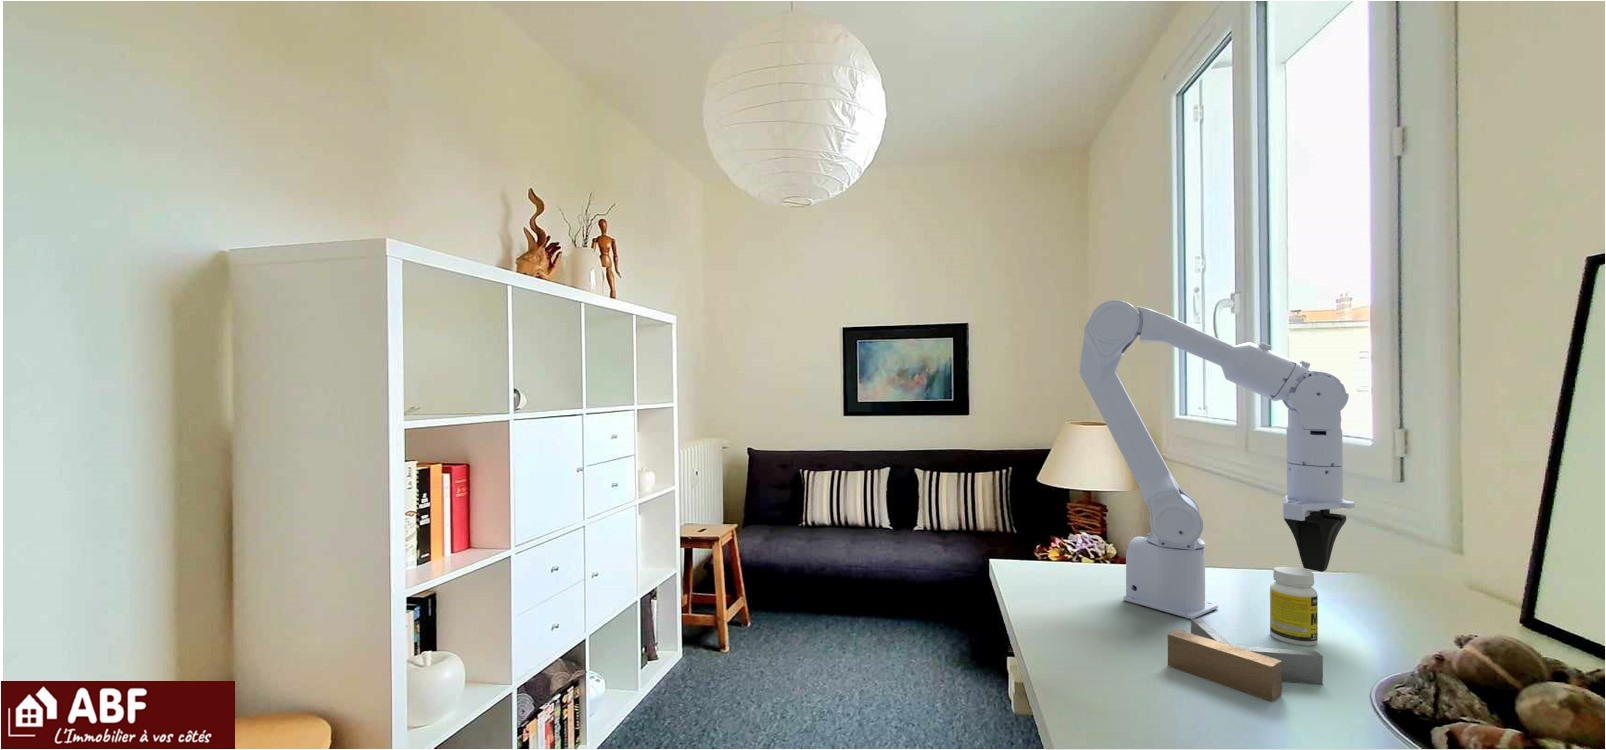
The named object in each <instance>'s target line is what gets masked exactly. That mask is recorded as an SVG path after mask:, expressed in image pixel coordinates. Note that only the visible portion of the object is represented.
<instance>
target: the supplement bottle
mask: <svg viewBox="0 0 1606 750" xmlns="http://www.w3.org/2000/svg"><path fill="white" fill-rule="evenodd" d="M1272 572H1273V573H1272V574H1273V580H1274V581H1273V582H1272V583H1271V584H1270V585H1269V633H1270V635H1271V636H1272V638H1274V639H1275V640H1277V641H1279V642H1283V643H1287V644H1291V645H1296V646H1306V647H1310V646H1311V647H1312V646H1315V645H1317V643H1318V640H1319V639H1318V635H1319V633H1318V629H1319V627H1318V625H1319V623H1318V617H1319V615H1318V613H1319V612H1318V611H1319V610H1318V609H1319V607H1318V601H1319V600H1318V599H1319V598H1318V597H1319V596H1318V595H1319V594H1318V591H1317V590H1316V589H1315V588H1314V585H1315V575H1314V572H1312V571H1310V570H1309V569H1305V568H1299V567H1292V566H1275V567H1274V568H1273V571H1272Z"/></svg>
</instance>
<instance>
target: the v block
mask: <svg viewBox="0 0 1606 750" xmlns="http://www.w3.org/2000/svg"><path fill="white" fill-rule="evenodd" d="M1323 658H1324V656H1323V655H1322V654H1320V653H1319V652H1318V651H1315V650H1302V649H1285V648H1274V647H1272V648H1271V647H1258V646H1256V647H1255V646H1244V645H1233V644H1232V643H1231V642H1229V640H1227V639H1226V638H1225V637H1223V636H1222V635H1221V634H1220V633H1219V632H1217V630H1215V629H1214V628H1213V627H1211V626H1210V625H1209V624H1208V623H1207V622H1206V621H1205V620H1204V619H1202V618H1193V619H1190V632H1188V631H1184V630H1181V629H1177V630H1174V631H1172V632H1169V633H1167V667H1170V668H1174V669H1176V670H1178V671H1182V672H1185V673H1187V674H1190V675H1193V676H1196V677H1198V678H1202V679H1205V680H1207V681H1211V682H1214V683H1216V684H1218V685H1222V686H1224V687H1228V688H1231V689H1232V690H1233V689H1234V690H1236V691H1239V692H1242V693H1243V694H1247V695H1251V696H1254V697H1256V698H1259V699H1262V700H1264V701H1267V702H1270V703H1273V702H1274V701H1276V700H1278V699H1279V698H1281V697H1282V696H1283V683H1295V684H1305V685H1306V684H1308V685H1321V686H1322V685H1323V684H1324V669H1323V668H1324V667H1323V666H1324V665H1323V664H1324V662H1323V660H1324V659H1323Z"/></svg>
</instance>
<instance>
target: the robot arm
mask: <svg viewBox="0 0 1606 750" xmlns="http://www.w3.org/2000/svg"><path fill="white" fill-rule="evenodd" d="M1136 308H1137V309H1136ZM1138 337H1139V341H1140V343H1142V344H1145V343H1146V344H1148V343H1150V344H1151V343H1165V344H1166V345H1170V346H1172V347H1174V348H1177V349H1178V350H1182V351H1184V352H1186V353H1189V354H1191V355H1194V356H1195V357H1199V358H1200V359H1202V360H1203V359H1204V360H1206V361H1208V362H1211V363H1213V364H1215V365H1218V366H1219V367H1220V368H1221V370H1222V372H1223V377H1224V378H1225V380H1227V381H1228V382H1232V383H1234V384H1235V385H1237V386H1240V387H1242V388H1244V389H1247V390H1248V391H1251V392H1253V393H1255V394H1258V395H1260V396H1263V397H1264V398H1267V399H1269V400H1270V401H1274V402H1277V401H1282V403H1283V404H1284V406H1285V407H1286V408H1287V409H1288V410H1287V427H1286V430H1285V431H1286V495H1284V502H1283V504H1282V506H1283V507H1282V509H1283V510H1282V511H1283V512H1282V513H1283V520H1284V521H1285V523H1286V525H1287V527H1288V528H1289V529H1290V531H1291V533H1292V535H1293V538H1294V540H1295V543H1296V546H1297V547H1296V548H1297V550H1298V553H1299V557H1300V558H1299V559H1300V560H1301V561H1300V562H1301V564H1302V567H1303V569H1304V570H1309V571H1310V570H1311V571H1317V572H1320V573H1321V572H1325V571H1327V570H1328V566H1329V563H1330V560H1331V557H1332V553H1333V549H1334V544H1335V542H1336V539H1337V536H1338V534H1339V532H1340V531H1341V529H1342V527H1343V526H1344V525H1345V523H1346V522H1347V516H1346V515H1344V514H1342V513H1340V514H1339V513H1334V512H1333V513H1331V510H1337V509H1348V510H1349V509H1354V508H1355V507H1356V506H1355V505H1356V503H1355V501H1351V500H1350V501H1349V500H1345V499H1344V494H1343V493H1344V491H1343V490H1344V488H1343V485H1344V484H1343V480H1344V479H1343V478H1344V477H1343V475H1344V473H1343V470H1344V469H1343V465H1344V463H1343V430H1342V423H1341V422H1342V416H1341V413H1342V412H1341V411H1342V410H1343V409H1344V408H1345V407H1346V405H1347V403H1348V401H1349V397H1350V396H1349V393H1348V392H1347V391H1346V387H1345V385H1344V384H1343V383H1342V382H1341V380H1340V379H1339V378H1337V376H1335V375H1333V374H1331V373H1328V372H1323V371H1317V370H1309V368H1310V367H1311V363H1310V362H1308V361H1305V360H1300V361H1299V362H1298V361H1296V360H1293V359H1291V358H1289V357H1287V356H1283V355H1282V354H1279V353H1277V352H1275V351H1272V350H1271V349H1272V345H1270V344H1267V343H1265V342H1263V341H1262V342H1259V343H1258V344H1256V343H1253V342H1249V341H1247V342H1245V343H1242V344H1241V343H1240V344H1237V345H1232V344H1230V343H1228V342H1225V341H1224V340H1221V339H1219V338H1217V337H1215V336H1212V335H1210V334H1209V333H1207V332H1203V331H1202V330H1200V329H1197V328H1195V327H1194V326H1191V325H1189V324H1187V323H1185V322H1183V321H1180V320H1178V319H1176V318H1174V317H1172V316H1170V315H1167V314H1164V313H1162V312H1159V311H1156V310H1154V309H1150V308H1147V307H1144V306H1140V305H1139V306H1138V305H1137V306H1136V307H1134V306H1133V305H1132V304H1130V303H1129V302H1127V301H1125V300H1123V299H1122V300H1121V299H1110V300H1106V301H1104V302H1102V303H1101V304H1098V305H1097V307H1096V308H1094V310H1093V312H1092V314H1091V315H1090V317H1089V319H1088V320H1087V322H1086V324H1085V326H1084V329H1083V341H1082V342H1083V343H1082V351H1081V356H1080V363H1079V375H1080V377H1081V380H1082V381H1083V383H1084V385H1085V387H1086V389H1087V390H1088V393H1089V395H1090V397H1091V398H1092V400H1093V402H1094V404H1095V406H1096V408H1097V409H1098V411H1099V413H1100V415H1101V417H1102V419H1103V420H1104V422H1105V424H1106V426H1107V428H1108V430H1109V432H1110V434H1111V436H1112V437H1113V440H1114V442H1115V444H1116V445H1117V447H1118V449H1119V450H1120V453H1121V455H1122V456H1123V458H1124V460H1125V462H1126V465H1127V466H1128V468H1129V470H1130V471H1131V473H1132V475H1133V478H1134V479H1135V481H1136V483H1137V485H1138V487H1139V490H1140V492H1141V494H1142V498H1143V500H1144V502H1145V504H1146V506H1147V508H1148V511H1149V525H1150V529H1151V531H1150V533H1149V532H1148V533H1147V534H1146V535H1145V536H1146V537H1145V536H1135V537H1133V538H1132V539H1131V540H1130V542H1129V543H1128V547H1127V550H1126V552H1125V553H1126V555H1125V595H1124V596H1122V598H1123V600H1124V601H1127V602H1129V603H1133V604H1136V605H1141V606H1145V607H1147V608H1150V609H1154V610H1158V611H1161V612H1165V613H1168V614H1172V615H1176V616H1179V617H1183V618H1186V619H1189V620H1191V619H1197V618H1198V617H1200V616H1202V615H1205V614H1208V613H1209V612H1212V611H1213V610H1217V609H1218V608H1219V605H1218V604H1217V603H1214V602H1211V601H1210V602H1209V601H1206V542H1205V540H1203V539H1201V536H1202V533H1203V531H1204V522H1203V518H1202V515H1201V514H1200V509H1199V505H1198V504H1197V502H1196V501H1195V499H1193V498H1192V496H1190V495H1188V493H1185V492H1184V491H1183V489H1181V487H1180V486H1179V484H1178V482H1177V480H1176V478H1175V477H1174V476H1173V474H1172V472H1171V470H1170V468H1168V465H1167V463H1166V461H1165V460H1164V458H1163V456H1162V454H1161V452H1160V451H1159V449H1158V447H1157V445H1156V443H1155V442H1154V439H1153V438H1152V436H1151V434H1150V432H1149V430H1148V428H1147V427H1146V425H1145V423H1144V421H1143V419H1142V417H1141V415H1140V414H1139V412H1138V410H1137V408H1136V407H1135V404H1134V403H1133V401H1132V399H1131V397H1130V396H1129V393H1128V392H1127V390H1126V388H1125V386H1124V384H1123V383H1122V381H1121V379H1120V377H1119V376H1118V373H1117V372H1118V369H1119V366H1120V363H1121V362H1122V359H1123V356H1124V354H1125V352H1126V351H1127V349H1128V348H1130V346H1131V345H1132V344H1133V343H1134V342H1135V340H1136V339H1137V338H1138Z"/></svg>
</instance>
